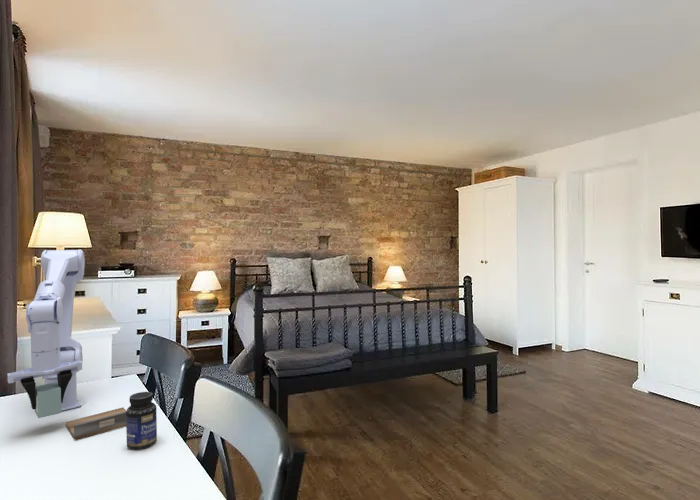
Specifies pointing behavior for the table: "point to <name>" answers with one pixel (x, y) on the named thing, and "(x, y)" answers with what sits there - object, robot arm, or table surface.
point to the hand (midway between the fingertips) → (47, 405)
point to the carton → (48, 399)
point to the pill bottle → (141, 421)
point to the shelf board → (97, 423)
